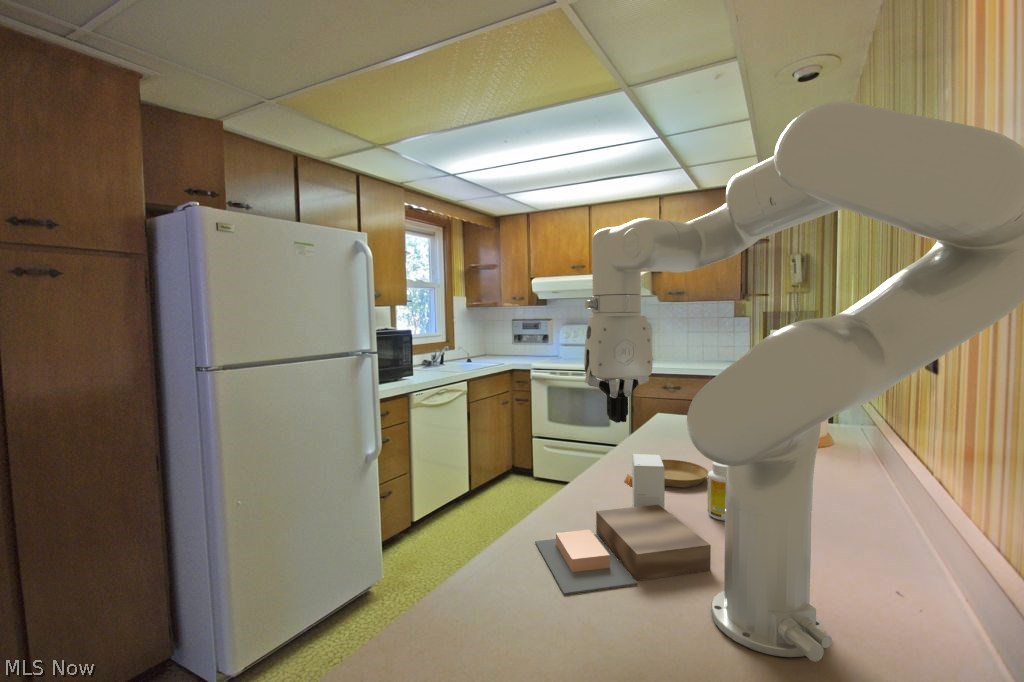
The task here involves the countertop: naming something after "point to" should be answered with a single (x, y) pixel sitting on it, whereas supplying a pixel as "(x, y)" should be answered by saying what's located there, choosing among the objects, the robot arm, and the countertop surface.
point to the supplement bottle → (717, 491)
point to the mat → (583, 579)
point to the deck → (652, 542)
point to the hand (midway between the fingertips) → (617, 420)
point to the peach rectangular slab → (582, 550)
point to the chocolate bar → (629, 481)
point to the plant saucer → (683, 473)
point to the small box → (647, 480)
